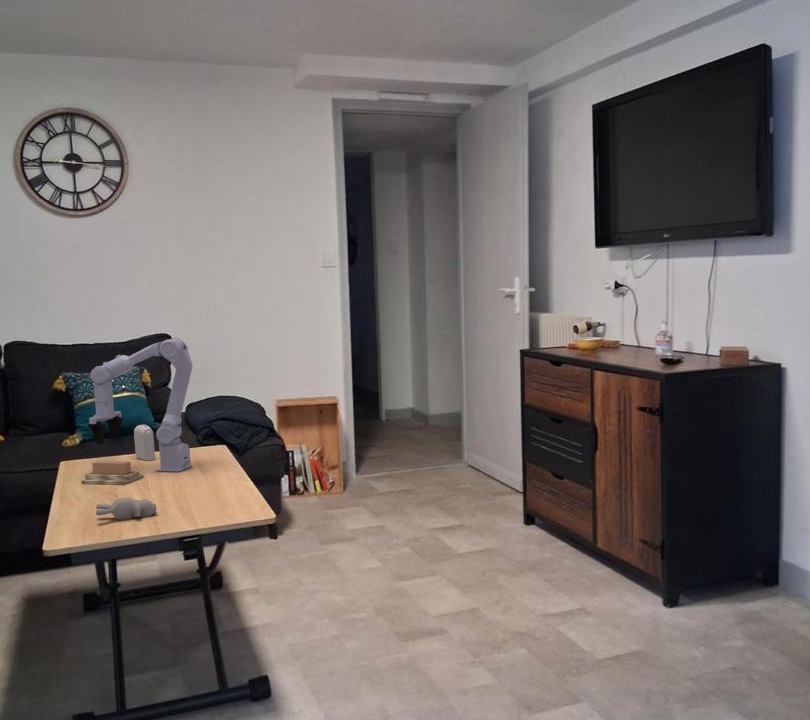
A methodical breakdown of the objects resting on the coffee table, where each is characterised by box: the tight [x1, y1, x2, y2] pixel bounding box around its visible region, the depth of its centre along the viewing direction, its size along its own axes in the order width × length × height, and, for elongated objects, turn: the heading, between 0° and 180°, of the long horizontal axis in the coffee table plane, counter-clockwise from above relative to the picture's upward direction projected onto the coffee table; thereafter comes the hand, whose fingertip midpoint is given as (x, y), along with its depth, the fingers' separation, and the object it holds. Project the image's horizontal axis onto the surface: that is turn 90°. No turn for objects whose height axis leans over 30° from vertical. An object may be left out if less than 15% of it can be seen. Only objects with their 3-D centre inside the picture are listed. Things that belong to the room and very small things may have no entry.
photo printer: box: [133, 424, 156, 461], centre depth 294 cm, size 10×4×12 cm, turn 39°
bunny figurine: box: [95, 497, 157, 521], centre depth 216 cm, size 10×5×15 cm
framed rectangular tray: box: [80, 470, 144, 486], centre depth 261 cm, size 16×10×2 cm, turn 75°
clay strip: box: [91, 460, 132, 475], centre depth 261 cm, size 12×3×5 cm, turn 75°
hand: (107, 441), depth 273 cm, fingers open, 7 cm apart
